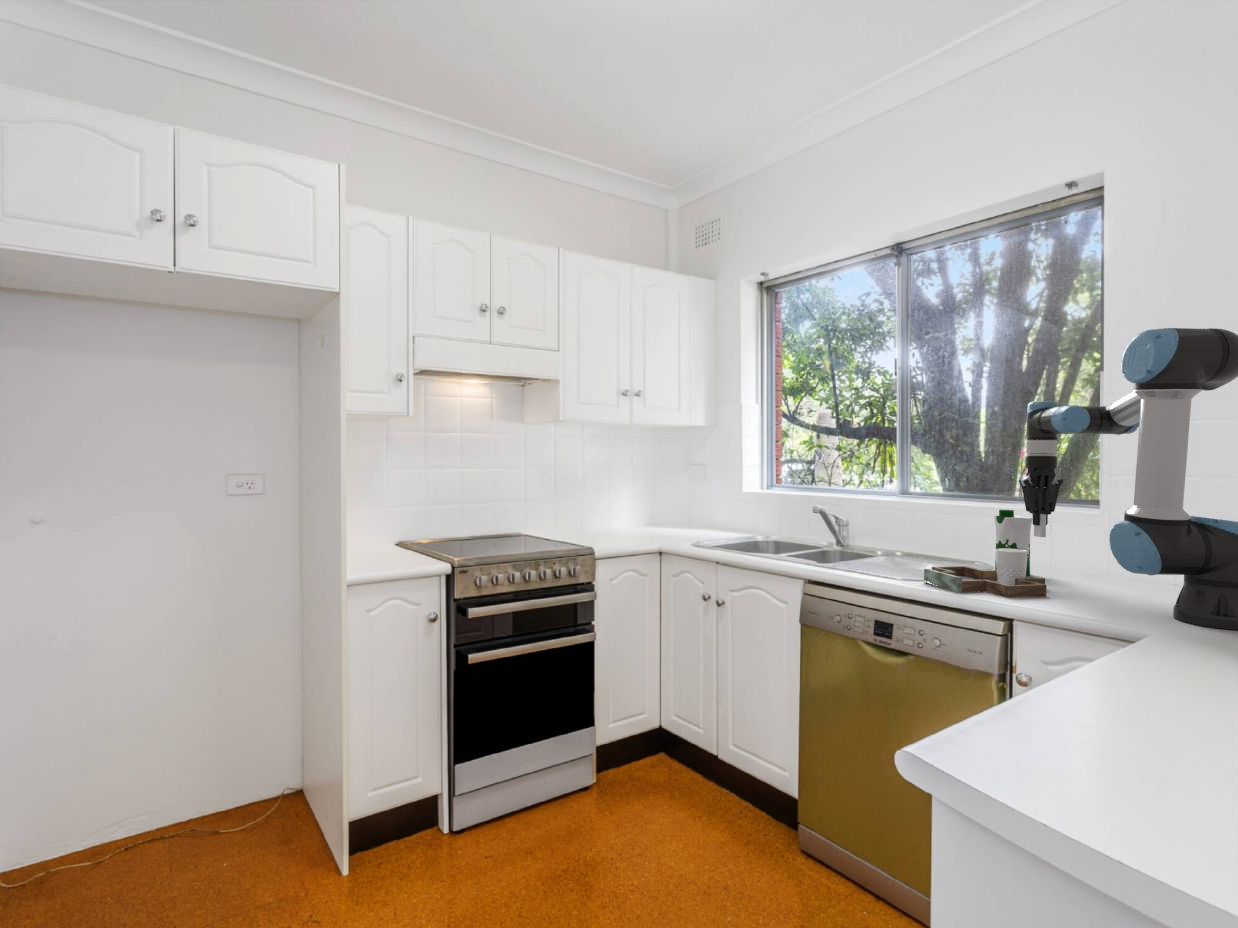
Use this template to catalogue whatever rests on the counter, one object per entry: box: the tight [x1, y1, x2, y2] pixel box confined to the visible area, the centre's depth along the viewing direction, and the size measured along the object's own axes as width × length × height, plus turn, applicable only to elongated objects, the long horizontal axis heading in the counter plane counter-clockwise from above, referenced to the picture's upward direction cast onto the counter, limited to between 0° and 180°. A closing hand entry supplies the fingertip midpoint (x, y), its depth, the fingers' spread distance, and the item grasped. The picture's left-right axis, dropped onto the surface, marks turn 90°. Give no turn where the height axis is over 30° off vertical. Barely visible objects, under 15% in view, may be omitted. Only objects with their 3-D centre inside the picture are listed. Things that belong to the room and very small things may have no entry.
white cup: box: [995, 548, 1028, 585], centre depth 192 cm, size 8×8×10 cm
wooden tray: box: [923, 565, 1047, 599], centre depth 191 cm, size 31×27×4 cm
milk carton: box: [993, 509, 1033, 577], centre depth 211 cm, size 9×9×20 cm
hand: (1039, 536), depth 194 cm, fingers closed
